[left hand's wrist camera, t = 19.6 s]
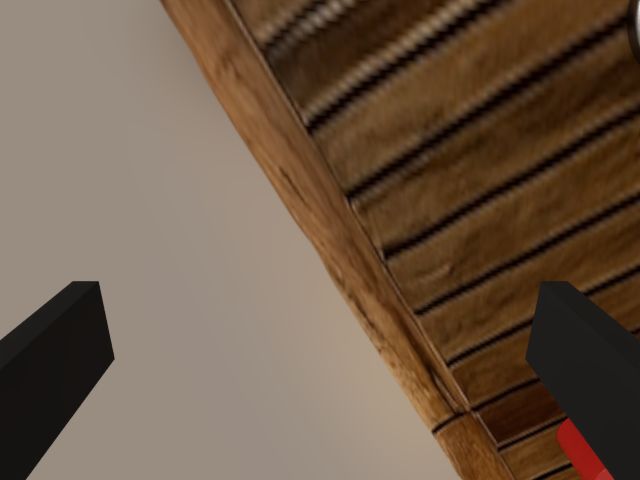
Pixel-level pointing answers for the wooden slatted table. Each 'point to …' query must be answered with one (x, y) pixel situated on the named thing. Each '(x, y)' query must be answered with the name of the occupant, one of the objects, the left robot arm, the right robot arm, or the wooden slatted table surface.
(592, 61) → the wooden slatted table surface
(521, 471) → the wooden slatted table surface
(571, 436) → the cylinder
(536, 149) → the wooden slatted table surface
